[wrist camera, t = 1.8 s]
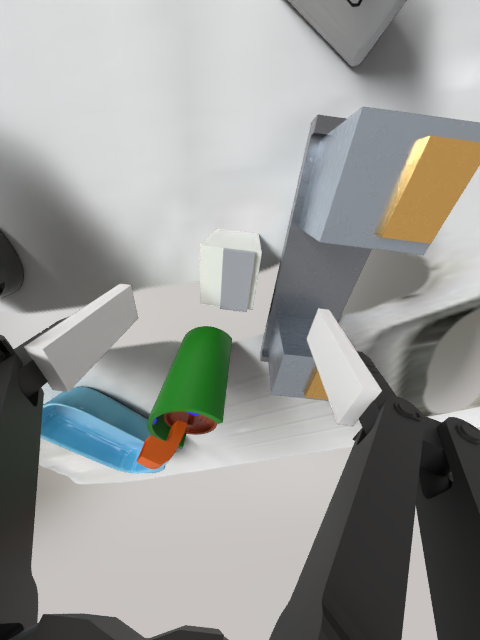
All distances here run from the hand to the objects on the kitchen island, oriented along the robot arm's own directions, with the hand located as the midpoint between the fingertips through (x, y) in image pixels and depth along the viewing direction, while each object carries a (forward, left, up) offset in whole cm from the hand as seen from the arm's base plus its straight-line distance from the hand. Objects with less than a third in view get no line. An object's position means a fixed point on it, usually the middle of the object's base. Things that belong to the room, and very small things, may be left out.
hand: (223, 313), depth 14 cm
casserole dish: (-29, -49, -17) cm, 59 cm away
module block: (0, 0, -16) cm, 16 cm away
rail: (+12, -2, -16) cm, 20 cm away
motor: (-4, -18, -16) cm, 25 cm away
